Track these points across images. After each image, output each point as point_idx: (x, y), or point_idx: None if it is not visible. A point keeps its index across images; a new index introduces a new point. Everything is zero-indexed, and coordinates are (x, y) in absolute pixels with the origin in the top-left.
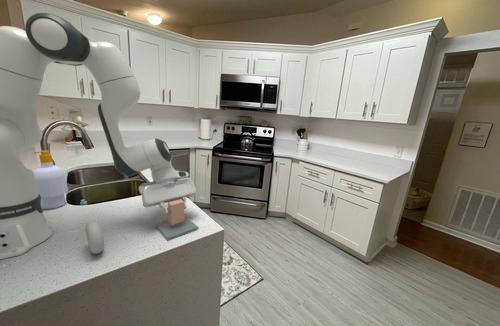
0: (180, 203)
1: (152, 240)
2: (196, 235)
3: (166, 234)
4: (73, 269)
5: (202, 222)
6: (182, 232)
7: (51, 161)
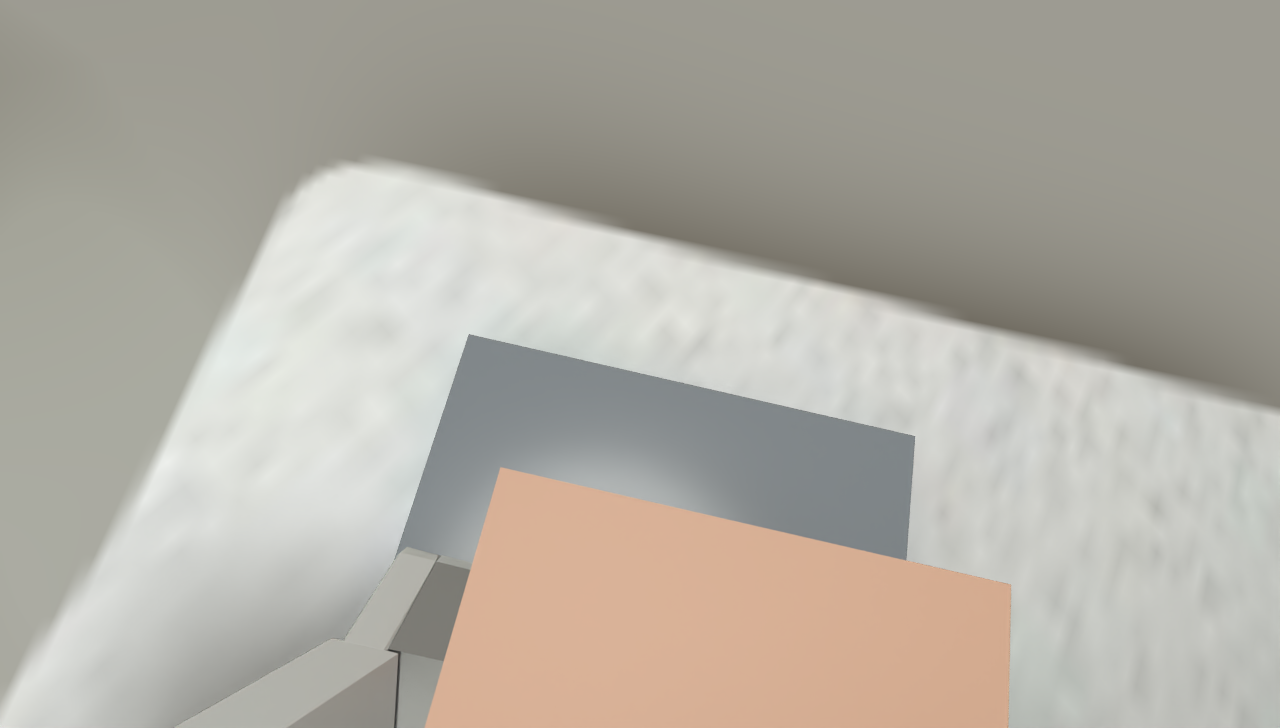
0: (657, 503)
1: (1032, 600)
2: (589, 272)
3: (884, 521)
4: None
5: (288, 439)
6: (703, 397)
7: None
